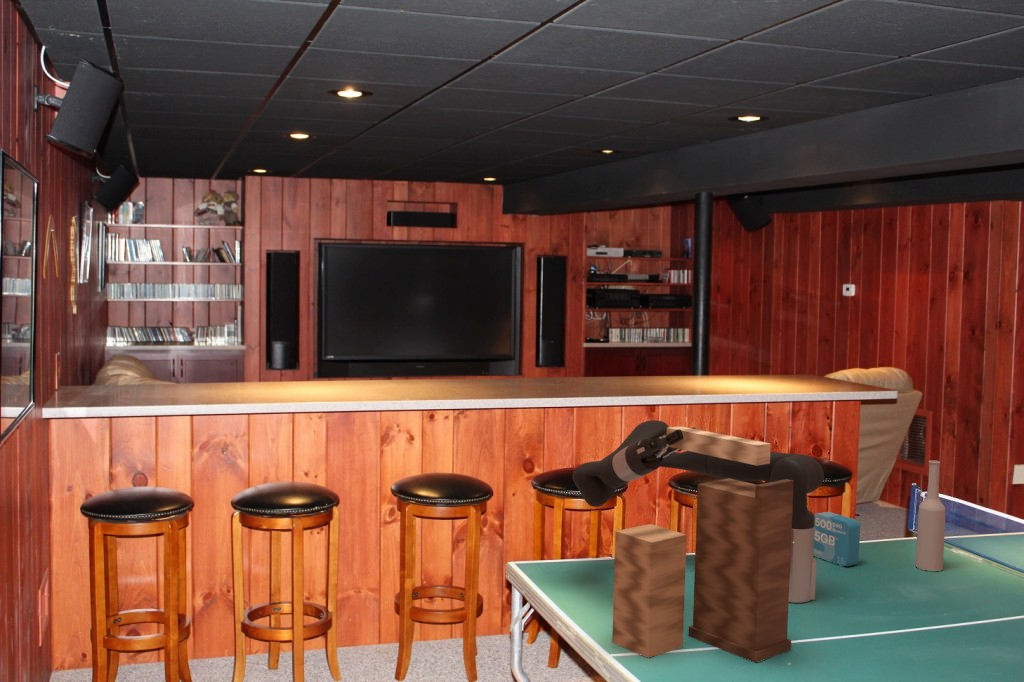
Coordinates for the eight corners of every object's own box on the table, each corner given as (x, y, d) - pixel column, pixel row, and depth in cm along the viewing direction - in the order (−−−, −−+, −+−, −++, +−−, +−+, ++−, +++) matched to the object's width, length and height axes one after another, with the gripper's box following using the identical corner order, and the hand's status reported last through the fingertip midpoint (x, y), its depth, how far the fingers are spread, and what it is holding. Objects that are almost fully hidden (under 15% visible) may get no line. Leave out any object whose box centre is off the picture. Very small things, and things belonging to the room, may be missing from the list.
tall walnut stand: (688, 635, 204) (693, 471, 201) (723, 624, 211) (729, 465, 208) (755, 663, 191) (762, 487, 188) (790, 649, 198) (798, 480, 195)
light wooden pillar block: (612, 642, 200) (615, 531, 198) (646, 631, 206) (649, 523, 204) (648, 658, 192) (651, 542, 190) (682, 646, 198) (686, 534, 196)
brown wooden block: (666, 446, 212) (666, 427, 211) (678, 444, 214) (679, 426, 214) (757, 465, 193) (758, 445, 193) (769, 463, 196) (770, 443, 195)
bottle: (912, 568, 254) (918, 461, 251) (918, 562, 259) (924, 457, 257) (939, 573, 250) (945, 465, 248) (945, 567, 255) (951, 461, 253)
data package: (810, 556, 263) (812, 512, 262) (822, 554, 265) (824, 510, 264) (847, 568, 253) (849, 522, 252) (858, 566, 255) (861, 520, 254)
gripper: (608, 447, 218) (659, 418, 206) (653, 441, 227) (704, 413, 215) (619, 479, 216) (672, 452, 204) (664, 472, 225) (716, 445, 213)
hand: (688, 432), depth 209 cm, fingers closed on brown wooden block, 4 cm apart
